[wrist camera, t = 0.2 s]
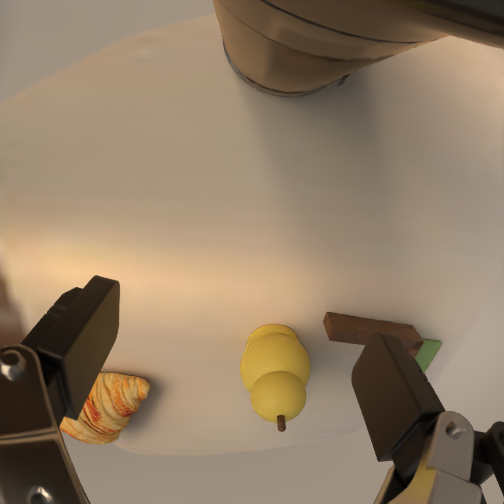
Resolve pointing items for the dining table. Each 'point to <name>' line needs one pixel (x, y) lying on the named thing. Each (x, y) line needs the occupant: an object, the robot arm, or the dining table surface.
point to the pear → (275, 373)
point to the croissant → (107, 408)
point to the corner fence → (369, 331)
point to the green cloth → (427, 353)
